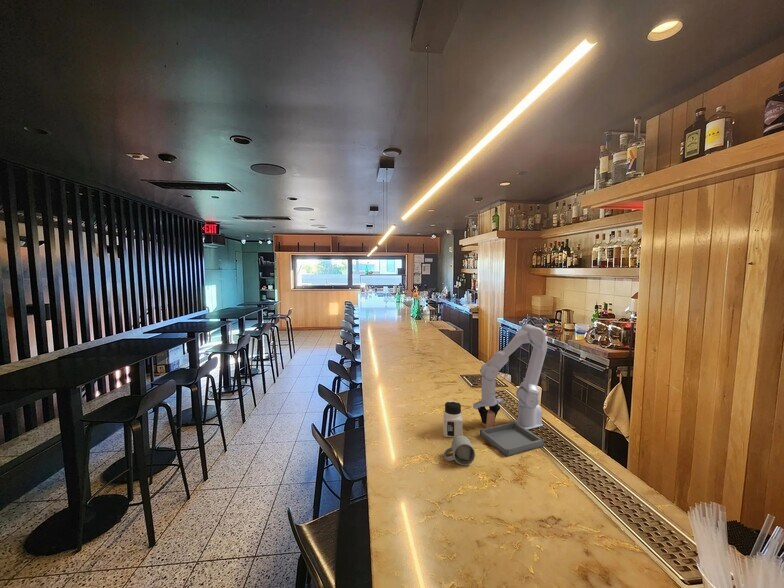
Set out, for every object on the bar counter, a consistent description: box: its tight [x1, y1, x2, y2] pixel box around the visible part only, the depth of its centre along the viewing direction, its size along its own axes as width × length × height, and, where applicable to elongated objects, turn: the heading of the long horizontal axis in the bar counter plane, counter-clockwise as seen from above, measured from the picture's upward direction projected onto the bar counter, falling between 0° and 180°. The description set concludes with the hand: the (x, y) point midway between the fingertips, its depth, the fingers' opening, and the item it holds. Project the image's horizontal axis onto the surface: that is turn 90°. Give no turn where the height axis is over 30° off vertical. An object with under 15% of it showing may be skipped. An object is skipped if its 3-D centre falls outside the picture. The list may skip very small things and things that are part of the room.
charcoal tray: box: [479, 421, 545, 458], centre depth 124 cm, size 18×16×2 cm
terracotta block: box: [481, 409, 496, 428], centre depth 137 cm, size 4×4×6 cm
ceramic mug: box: [442, 435, 476, 466], centre depth 113 cm, size 11×8×8 cm
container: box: [442, 400, 464, 439], centre depth 131 cm, size 8×8×13 cm
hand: (488, 421), depth 137 cm, fingers closed on terracotta block, 4 cm apart
